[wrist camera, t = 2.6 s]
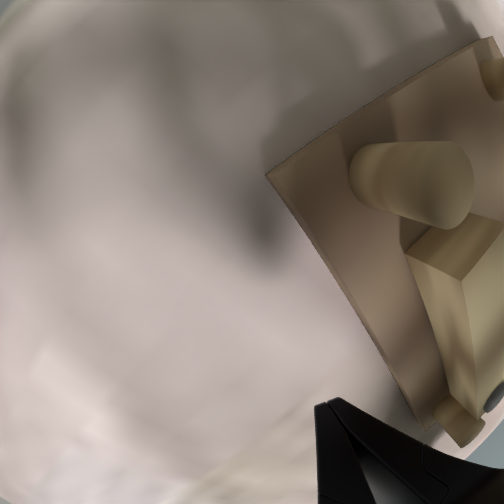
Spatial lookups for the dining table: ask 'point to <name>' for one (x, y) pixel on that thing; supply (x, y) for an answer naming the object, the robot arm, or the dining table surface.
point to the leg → (466, 306)
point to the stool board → (391, 233)
